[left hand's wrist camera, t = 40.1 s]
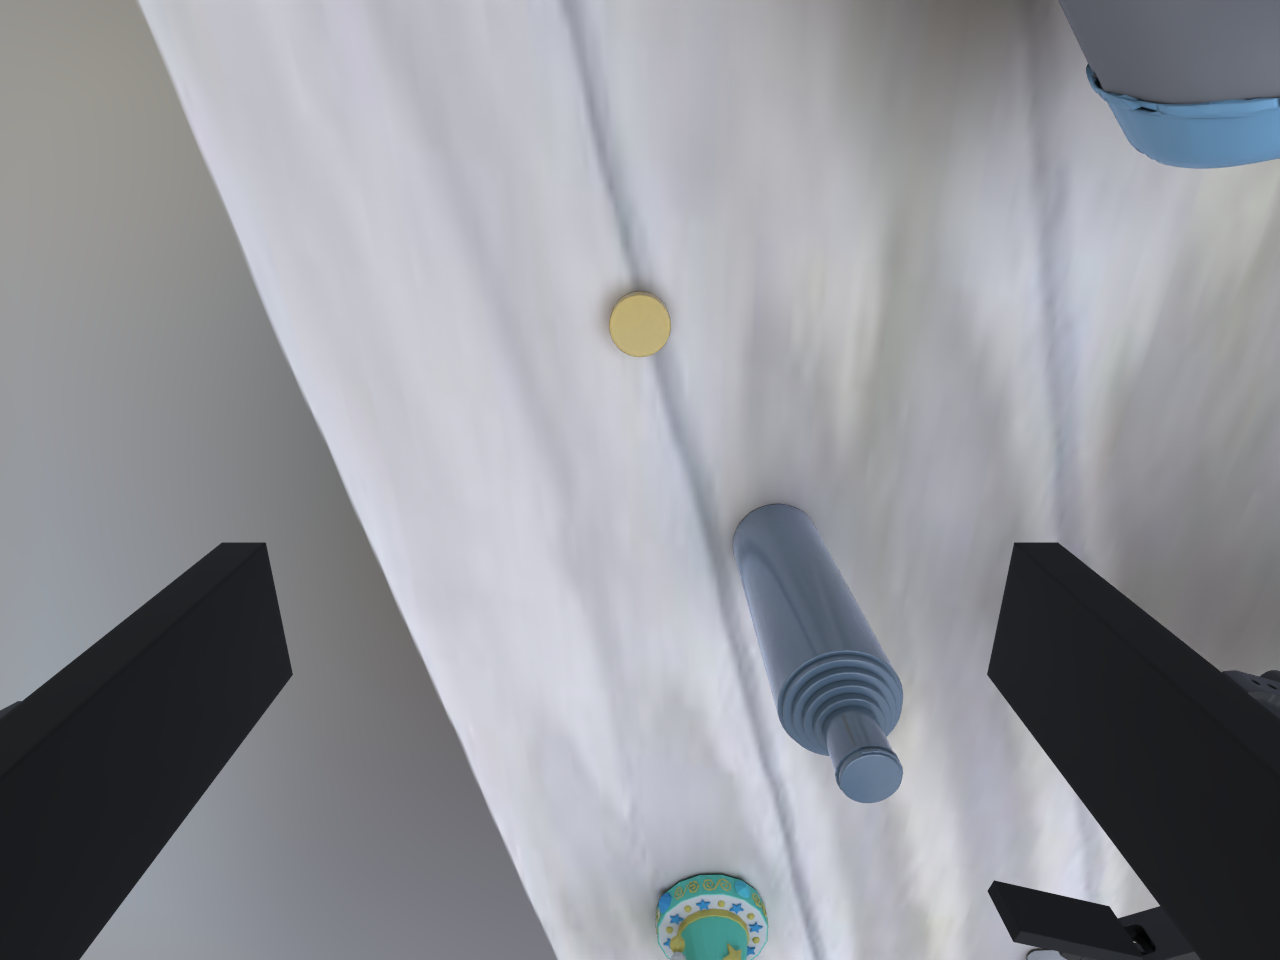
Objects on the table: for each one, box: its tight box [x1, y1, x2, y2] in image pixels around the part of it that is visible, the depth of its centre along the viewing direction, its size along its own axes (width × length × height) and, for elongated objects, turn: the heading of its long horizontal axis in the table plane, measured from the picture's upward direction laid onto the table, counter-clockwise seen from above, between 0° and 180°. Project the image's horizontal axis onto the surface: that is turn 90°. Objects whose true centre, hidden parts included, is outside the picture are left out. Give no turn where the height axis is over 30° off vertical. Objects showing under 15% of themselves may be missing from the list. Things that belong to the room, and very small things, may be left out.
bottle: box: [733, 504, 903, 803], centre depth 41 cm, size 6×6×23 cm
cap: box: [609, 291, 671, 357], centre depth 45 cm, size 4×4×2 cm
